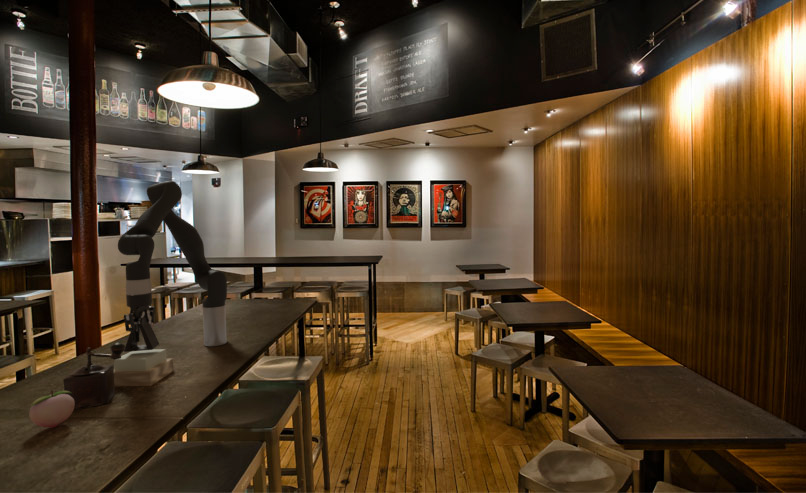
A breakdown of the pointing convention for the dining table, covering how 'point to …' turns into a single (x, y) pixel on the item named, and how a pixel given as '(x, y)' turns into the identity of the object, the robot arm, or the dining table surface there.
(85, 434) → the dining table surface
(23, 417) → the dining table surface
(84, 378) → the manual coffee grinder
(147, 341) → the phone stand
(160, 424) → the dining table surface
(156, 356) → the tower top
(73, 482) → the dining table surface
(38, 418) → the decorative fruit
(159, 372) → the tower base
